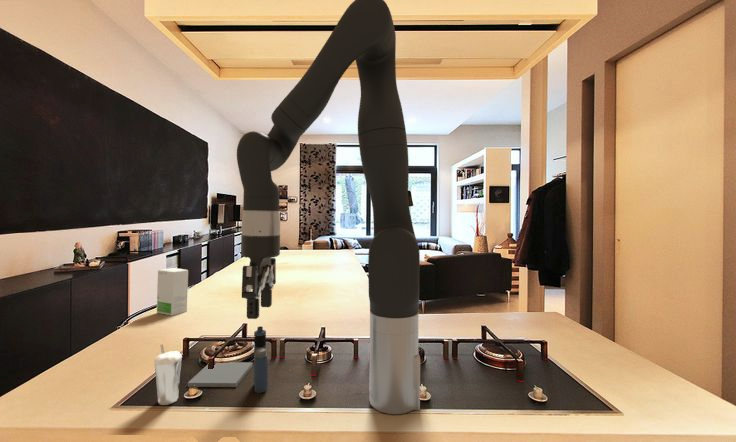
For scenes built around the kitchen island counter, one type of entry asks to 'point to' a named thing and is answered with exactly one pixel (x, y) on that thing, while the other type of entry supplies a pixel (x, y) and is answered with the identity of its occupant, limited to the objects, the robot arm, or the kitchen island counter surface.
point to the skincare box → (172, 291)
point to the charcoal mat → (221, 375)
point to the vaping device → (260, 361)
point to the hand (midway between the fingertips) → (260, 312)
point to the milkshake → (167, 376)
